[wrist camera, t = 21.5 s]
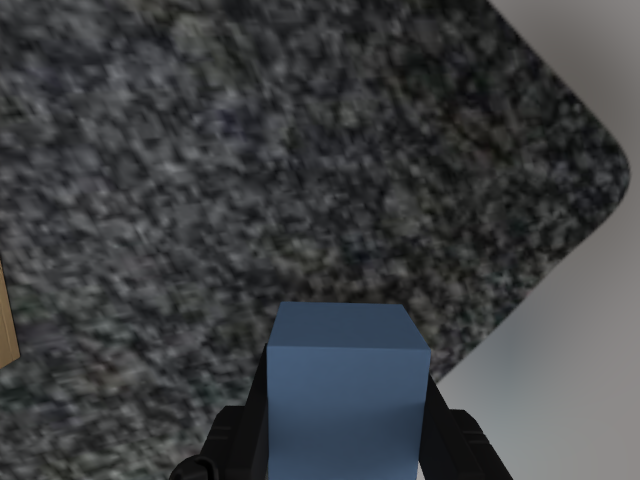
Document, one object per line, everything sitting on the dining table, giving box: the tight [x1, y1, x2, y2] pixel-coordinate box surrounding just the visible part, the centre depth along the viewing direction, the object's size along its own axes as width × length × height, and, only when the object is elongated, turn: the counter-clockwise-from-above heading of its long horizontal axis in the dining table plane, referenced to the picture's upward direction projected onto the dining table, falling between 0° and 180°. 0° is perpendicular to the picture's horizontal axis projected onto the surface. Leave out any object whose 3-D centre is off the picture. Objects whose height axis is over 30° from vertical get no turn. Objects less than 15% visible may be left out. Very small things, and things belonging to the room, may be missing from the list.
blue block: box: [267, 302, 431, 480], centre depth 13 cm, size 6×7×4 cm
